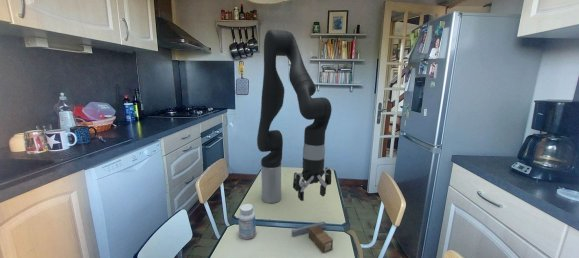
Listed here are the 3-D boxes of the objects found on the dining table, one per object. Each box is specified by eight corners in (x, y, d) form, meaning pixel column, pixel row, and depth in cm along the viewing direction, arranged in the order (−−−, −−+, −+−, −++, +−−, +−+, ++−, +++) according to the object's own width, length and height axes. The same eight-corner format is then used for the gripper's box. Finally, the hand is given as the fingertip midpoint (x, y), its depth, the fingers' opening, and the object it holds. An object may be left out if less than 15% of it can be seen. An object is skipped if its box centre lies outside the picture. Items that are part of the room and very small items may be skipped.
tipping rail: (291, 234, 91) (291, 229, 90) (324, 225, 96) (324, 221, 96) (292, 236, 89) (292, 231, 89) (325, 227, 95) (325, 223, 94)
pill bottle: (248, 227, 95) (247, 201, 92) (259, 233, 91) (258, 206, 88) (235, 235, 90) (234, 207, 88) (246, 242, 86) (245, 213, 84)
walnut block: (308, 228, 88) (323, 243, 80) (318, 225, 90) (333, 240, 82) (308, 237, 89) (322, 254, 81) (317, 234, 91) (332, 250, 83)
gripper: (325, 149, 91) (323, 189, 95) (290, 154, 85) (289, 196, 89) (337, 156, 84) (334, 199, 88) (299, 161, 78) (298, 207, 82)
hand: (311, 197), depth 88 cm, fingers open, 8 cm apart
